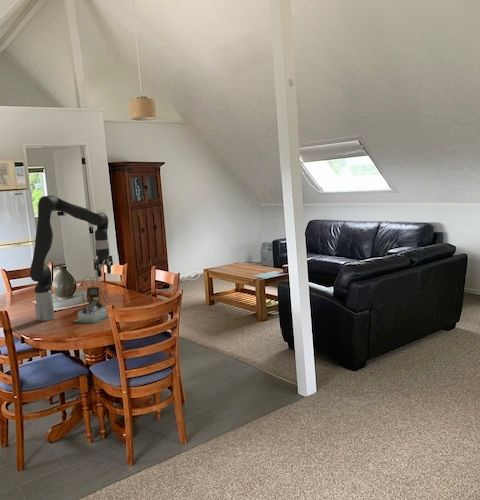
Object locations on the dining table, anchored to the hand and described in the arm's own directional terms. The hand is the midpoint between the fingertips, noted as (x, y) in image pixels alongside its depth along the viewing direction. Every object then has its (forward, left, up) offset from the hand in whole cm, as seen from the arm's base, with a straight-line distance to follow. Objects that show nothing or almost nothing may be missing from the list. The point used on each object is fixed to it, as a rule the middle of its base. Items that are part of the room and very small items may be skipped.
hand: (104, 275), depth 288 cm
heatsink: (-11, 0, -27) cm, 29 cm away
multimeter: (-26, +20, -27) cm, 42 cm away
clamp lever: (-11, 0, -19) cm, 22 cm away
